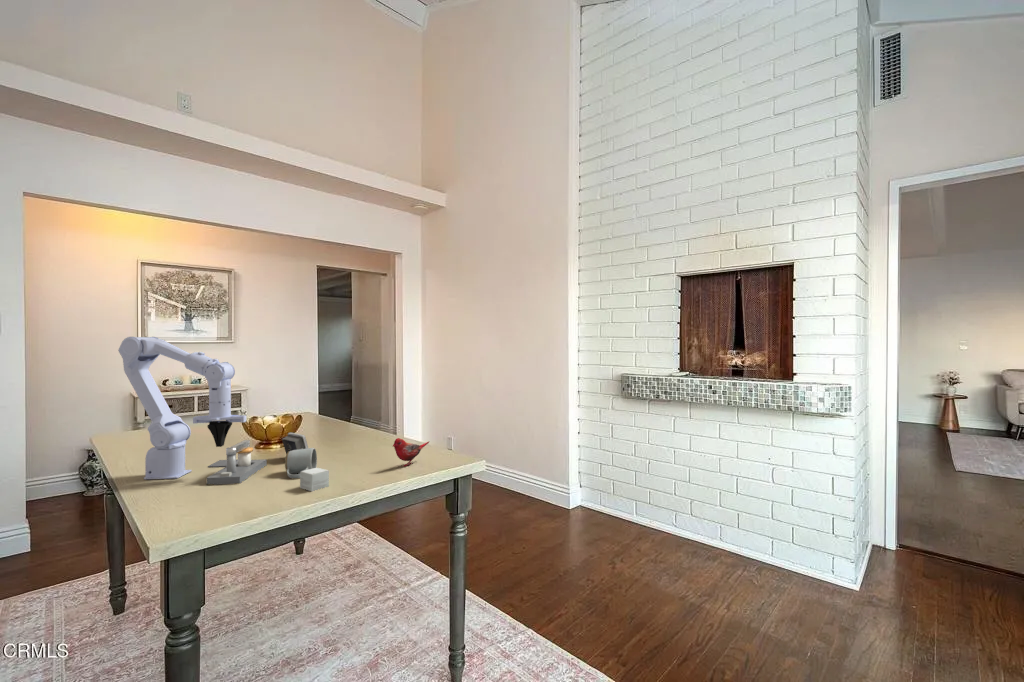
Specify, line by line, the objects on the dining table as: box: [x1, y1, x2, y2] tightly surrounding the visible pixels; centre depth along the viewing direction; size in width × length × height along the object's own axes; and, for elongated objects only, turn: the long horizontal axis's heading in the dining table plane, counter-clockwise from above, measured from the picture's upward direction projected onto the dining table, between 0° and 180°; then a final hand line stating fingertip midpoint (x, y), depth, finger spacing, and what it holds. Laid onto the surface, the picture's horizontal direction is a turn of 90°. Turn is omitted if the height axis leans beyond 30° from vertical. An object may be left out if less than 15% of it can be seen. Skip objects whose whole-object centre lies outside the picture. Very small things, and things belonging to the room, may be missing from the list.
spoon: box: [225, 439, 251, 457], centre depth 146 cm, size 3×12×2 cm, turn 7°
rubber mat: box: [207, 459, 238, 468], centre depth 158 cm, size 8×8×1 cm
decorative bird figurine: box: [391, 437, 430, 467], centre depth 159 cm, size 3×18×10 cm, turn 148°
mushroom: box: [237, 446, 254, 467], centre depth 150 cm, size 5×5×7 cm
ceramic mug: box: [284, 447, 318, 479], centre depth 147 cm, size 11×8×8 cm
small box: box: [299, 467, 330, 492], centre depth 134 cm, size 6×6×5 cm
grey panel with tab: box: [206, 454, 268, 485], centre depth 146 cm, size 9×20×7 cm, turn 7°
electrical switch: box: [281, 432, 309, 456], centre depth 165 cm, size 9×5×9 cm, turn 57°
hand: (220, 446), depth 145 cm, fingers closed
